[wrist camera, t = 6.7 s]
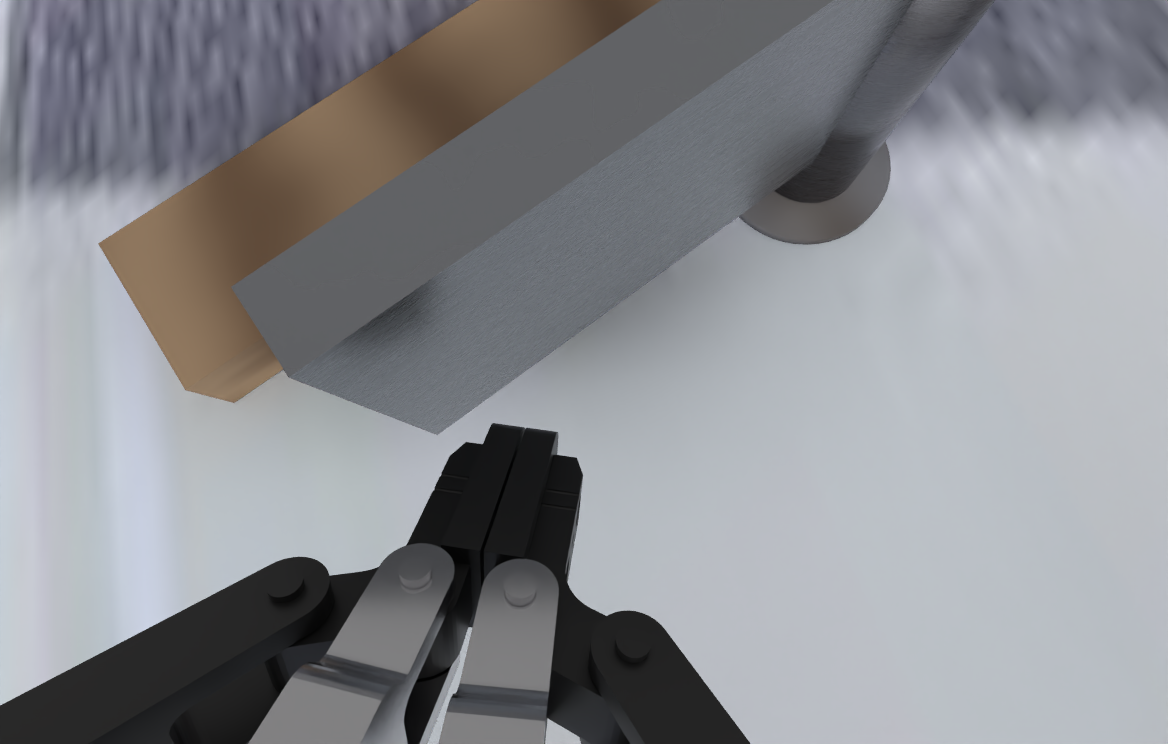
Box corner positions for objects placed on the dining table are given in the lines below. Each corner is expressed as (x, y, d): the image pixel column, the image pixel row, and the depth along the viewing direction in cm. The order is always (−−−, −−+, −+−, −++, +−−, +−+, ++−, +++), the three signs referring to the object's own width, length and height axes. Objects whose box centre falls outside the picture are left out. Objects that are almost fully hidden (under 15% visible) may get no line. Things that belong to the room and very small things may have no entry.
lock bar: (811, 93, 21) (1001, -279, 11) (881, 164, 20) (1150, -162, 10) (411, 376, 19) (203, 244, 9) (472, 465, 19) (319, 425, 9)
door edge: (640, -158, 25) (657, -463, 17) (955, 154, 21) (1161, -48, 13) (99, 182, 22) (-177, 9, 14) (356, 602, 19) (176, 676, 11)
